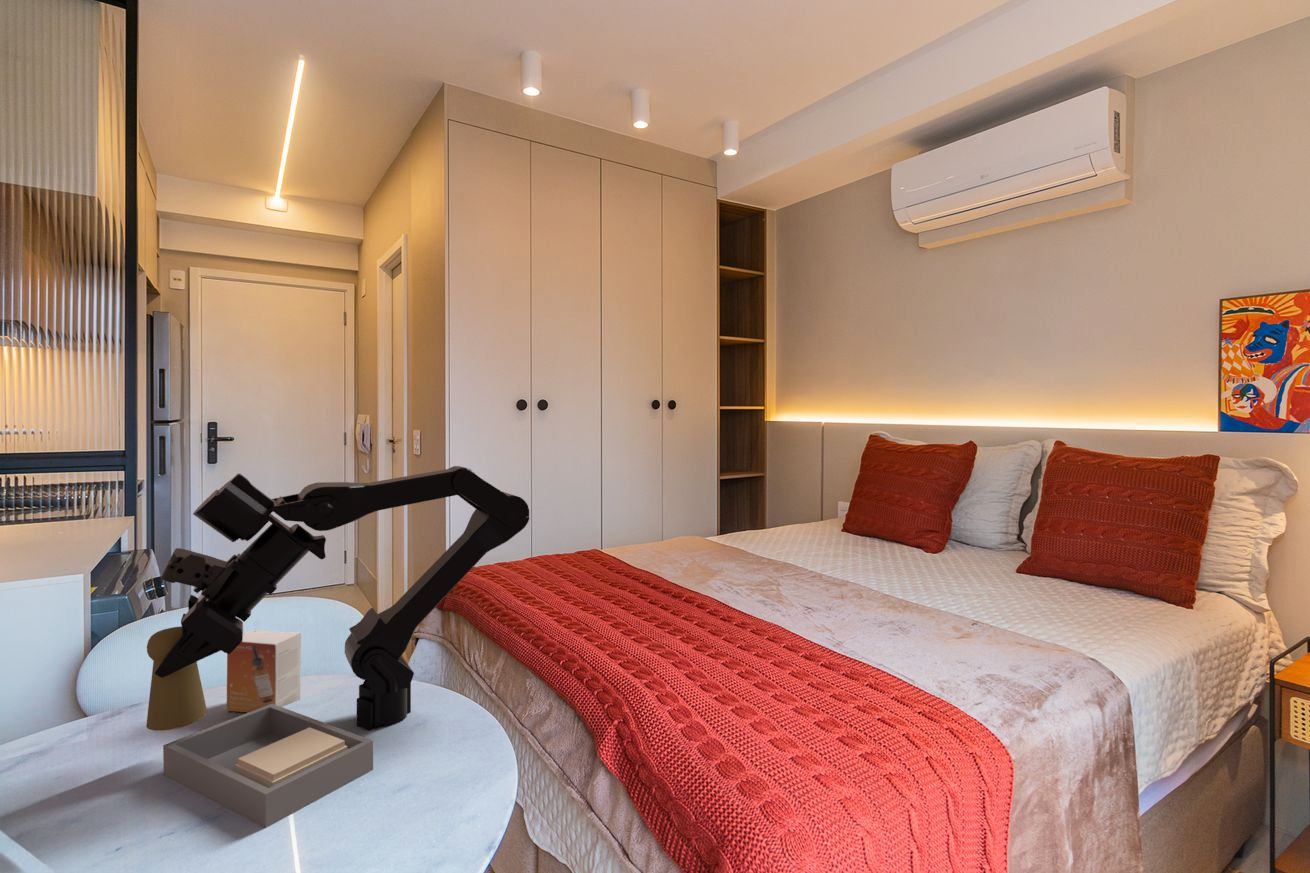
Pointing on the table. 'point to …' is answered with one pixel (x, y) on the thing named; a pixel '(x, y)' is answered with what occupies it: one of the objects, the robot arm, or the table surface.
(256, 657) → the small box
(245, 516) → the robot arm
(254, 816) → the tray
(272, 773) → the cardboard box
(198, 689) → the cork
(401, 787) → the table surface
